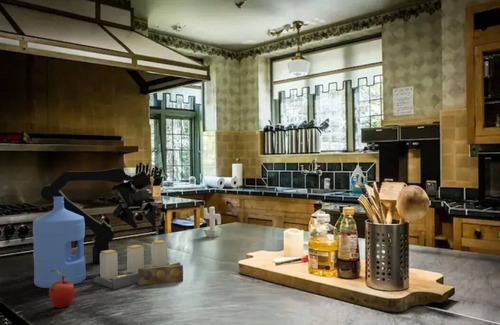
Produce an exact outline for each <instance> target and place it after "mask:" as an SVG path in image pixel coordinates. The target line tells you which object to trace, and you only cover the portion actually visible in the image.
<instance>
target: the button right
mask: <svg viewBox="0 0 500 325" xmlns="http://www.w3.org/2000/svg"><path fill="white" fill-rule="evenodd" d="M150 247H151V264H152V266H156V267H160V266H165V265H168V263H169V262H168V258H169V257H168V242H167V241H166V240H162V239H160V240H154V241H152V243H151V245H150Z"/></svg>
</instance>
